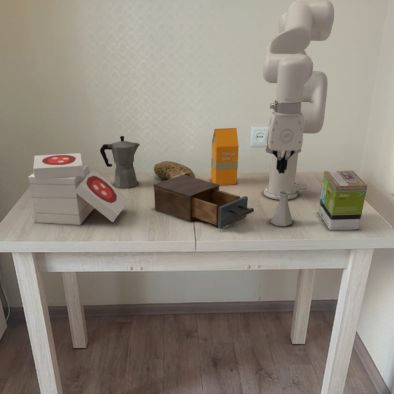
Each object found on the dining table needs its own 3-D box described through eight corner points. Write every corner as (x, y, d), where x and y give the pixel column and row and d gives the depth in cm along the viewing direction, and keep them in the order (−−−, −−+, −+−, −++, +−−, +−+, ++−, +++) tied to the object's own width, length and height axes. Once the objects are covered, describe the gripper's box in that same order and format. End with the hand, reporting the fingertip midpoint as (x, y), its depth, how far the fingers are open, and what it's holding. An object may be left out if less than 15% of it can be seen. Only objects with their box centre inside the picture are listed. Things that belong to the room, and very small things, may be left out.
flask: (286, 228, 158) (290, 198, 152) (266, 223, 161) (269, 193, 155) (295, 221, 163) (299, 191, 157) (275, 216, 166) (278, 187, 160)
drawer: (259, 221, 161) (261, 200, 157) (234, 233, 152) (235, 212, 148) (211, 205, 172) (211, 186, 168) (184, 216, 164) (184, 196, 160)
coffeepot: (139, 179, 198) (135, 131, 188) (145, 186, 191) (142, 137, 180) (101, 183, 194) (96, 135, 183) (106, 190, 187) (101, 141, 176)
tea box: (316, 213, 169) (323, 169, 160) (345, 212, 169) (353, 169, 161) (328, 230, 157) (336, 184, 148) (359, 230, 157) (369, 184, 149)
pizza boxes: (117, 229, 157) (112, 172, 146) (28, 224, 160) (16, 167, 149) (131, 207, 172) (127, 154, 162) (49, 203, 175) (40, 151, 165)
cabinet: (218, 209, 171) (219, 184, 166) (190, 221, 162) (190, 195, 157) (183, 198, 180) (183, 174, 175) (154, 209, 171) (153, 184, 166)
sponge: (198, 188, 193) (181, 164, 205) (196, 171, 187) (179, 146, 199) (167, 198, 191) (152, 173, 203) (164, 180, 185) (148, 155, 197)
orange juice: (236, 184, 194) (239, 130, 182) (215, 185, 192) (216, 131, 180) (231, 178, 200) (234, 125, 188) (210, 179, 198) (211, 126, 186)
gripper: (264, 110, 138) (258, 176, 149) (316, 110, 138) (307, 175, 150) (260, 105, 144) (255, 168, 155) (310, 105, 144) (302, 168, 155)
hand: (281, 172), depth 152 cm, fingers closed
